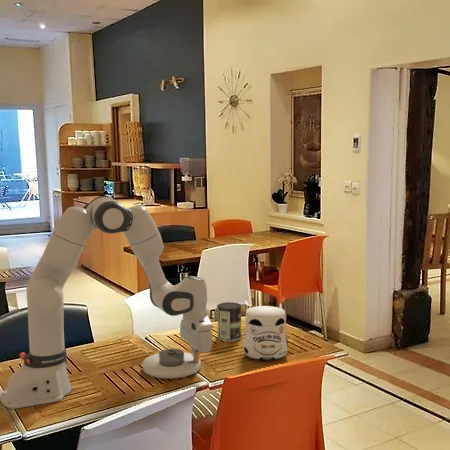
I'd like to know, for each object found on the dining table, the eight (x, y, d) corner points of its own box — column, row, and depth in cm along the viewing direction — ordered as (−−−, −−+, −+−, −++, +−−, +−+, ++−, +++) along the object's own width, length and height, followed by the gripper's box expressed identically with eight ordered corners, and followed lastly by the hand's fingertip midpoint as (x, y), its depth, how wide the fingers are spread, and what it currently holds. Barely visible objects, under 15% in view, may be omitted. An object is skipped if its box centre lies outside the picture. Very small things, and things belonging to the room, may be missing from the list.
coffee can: (241, 333, 250) (241, 302, 248) (241, 341, 240) (241, 308, 238) (217, 333, 250) (217, 302, 248) (216, 341, 240) (216, 308, 238)
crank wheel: (137, 377, 201) (136, 361, 200) (149, 355, 222) (148, 341, 221) (197, 379, 200) (196, 362, 199) (203, 357, 221) (203, 341, 220)
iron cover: (157, 366, 206) (156, 354, 205) (161, 357, 215) (161, 345, 214) (182, 367, 205) (182, 354, 205) (185, 357, 214) (185, 346, 214)
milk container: (264, 368, 211) (264, 321, 209) (233, 355, 224) (233, 310, 222) (297, 357, 222) (297, 312, 219) (266, 345, 235) (266, 302, 233)
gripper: (175, 313, 218) (175, 348, 220) (199, 329, 200) (198, 367, 202) (191, 311, 221) (191, 346, 223) (215, 326, 203) (214, 364, 205)
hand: (194, 356), depth 212 cm, fingers closed
